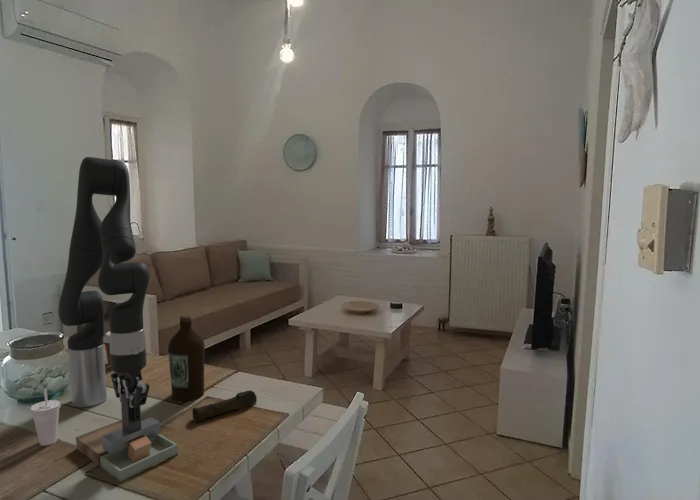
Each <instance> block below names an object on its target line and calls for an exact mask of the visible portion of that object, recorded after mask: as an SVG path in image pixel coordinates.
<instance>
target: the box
mask: <svg viewBox="0 0 700 500" xmlns="http://www.w3.org/2000/svg"><path fill="white" fill-rule="evenodd" d="M149 440H150V441H151V447H150V452H149V455H148V456H146V457H144V458H142V459H139V460H137V461H135V462H133V463H132V461H131V460H130V459H129V457H128V456H127V454H128V449H129V447H128V448H126V449H123V450H121V451H119V452H116V453H114V454H112V455H111V454H110V453H108V454H106V455H104V456H101V457H100V462H101V466H100V468H101V469H102V470H104V471H105V472H107V473H108V474H109V475H110V476H112V477H113V478H114V479H115V480H116V481H118V482H123V481H126V480H127V479H130V478H131V477H134V476H136V475H138V474H140V473H143V472H145V471H146V470H148V469H149V468H148V467H150V466H152V465H154V464H156V463H158V462H160V461H163V460H165V459H167V460H169V459H171V458H173V457H175V456H177V455H176V454H178V455H179V448H178V445H179V444H177V443H176V442H174V441H172V440H170V439H169V438H167V437H166V436H164V435H162V434H161V433H160V434H158V435H156V436H154V437H151V438H149ZM172 456H173V457H172ZM170 457H171V458H170ZM168 458H169V459H168ZM165 461H166V460H165ZM163 462H164V461H163ZM147 468H148V469H147ZM145 469H146V470H145Z"/></svg>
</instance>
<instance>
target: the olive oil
mask: <svg viewBox="0 0 700 500" xmlns="http://www.w3.org/2000/svg"><path fill="white" fill-rule="evenodd" d="M179 320H180V321H179V329H178V331H177V332H175V334H174V335H173V336H172V337H171V338H170V340H169V343H168V347H167V354H168V361H169V371H170V372H169V374H170V384H171V397H172V399H174V400H175V401H181V402H187V401H189V402H190V401H194V400H196V399H199V398H202V396H203V395H204V394H205V354H206V352H205V351H206V348H205V347H206V346H205V341H204V339H203V337H202V336H201V334H199V332H197V331H196V330H195V329H194V328H193V327H192V325H193V324H192V315H189V314H184V315H183V314H182V315H180V316H179Z"/></svg>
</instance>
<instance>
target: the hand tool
mask: <svg viewBox="0 0 700 500" xmlns="http://www.w3.org/2000/svg"><path fill="white" fill-rule="evenodd" d="M257 399H258V398H257V395H256V393H255V391H253V390H245V391H241V392H238V393H236V394H235V396H234V397H231V398H228V399H224V400H221V401H218V402H214V403H210V404H207V405H203V406H200V407H193V408H192V418H193V421H194V420H195V421H194V423H197V424H199V422H200V421H202V422H204V421H205V420H206V419H210V418H213V417H216V416H218V415H222V414H225V413H228V412H231V411H234V410H239V409H241V411H242V410H244V409H247V408H249V407H251V406H253V405H255V404H256V403H257Z"/></svg>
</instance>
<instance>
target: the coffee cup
mask: <svg viewBox="0 0 700 500" xmlns="http://www.w3.org/2000/svg"><path fill="white" fill-rule="evenodd" d="M109 340H110V330H108V331H107V332H105V333H104V337H103V343H104V349H105V354H106V359H107V360H106V361H107V367H108V366H109V367H108V368H110V367H111V361H110V343H109Z"/></svg>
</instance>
